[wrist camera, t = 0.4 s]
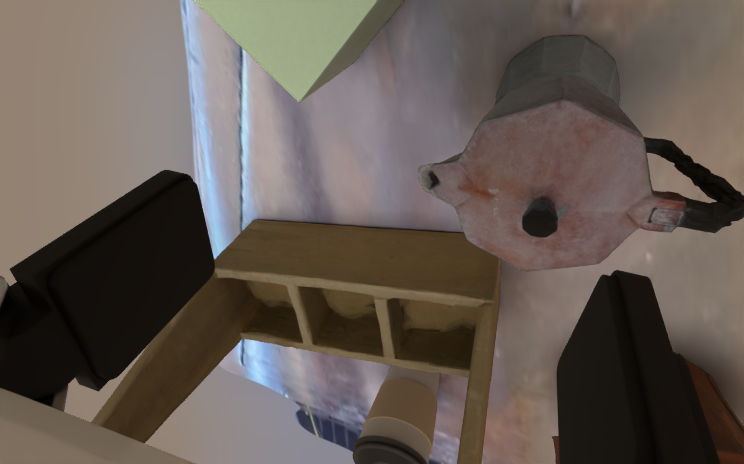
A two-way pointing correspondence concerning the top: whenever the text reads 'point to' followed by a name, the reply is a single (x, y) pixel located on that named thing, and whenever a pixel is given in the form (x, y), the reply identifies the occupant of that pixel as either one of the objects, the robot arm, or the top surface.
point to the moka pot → (567, 166)
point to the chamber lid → (291, 34)
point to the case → (712, 420)
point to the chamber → (359, 40)
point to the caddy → (328, 315)
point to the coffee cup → (400, 420)
